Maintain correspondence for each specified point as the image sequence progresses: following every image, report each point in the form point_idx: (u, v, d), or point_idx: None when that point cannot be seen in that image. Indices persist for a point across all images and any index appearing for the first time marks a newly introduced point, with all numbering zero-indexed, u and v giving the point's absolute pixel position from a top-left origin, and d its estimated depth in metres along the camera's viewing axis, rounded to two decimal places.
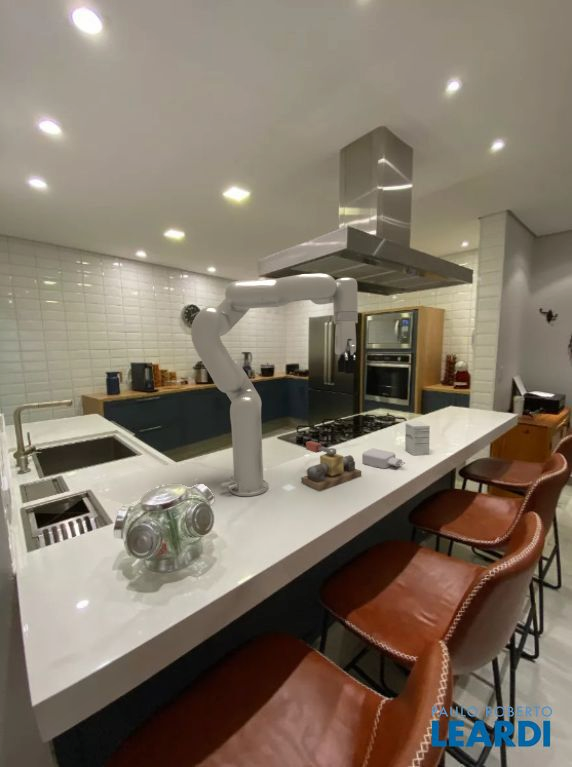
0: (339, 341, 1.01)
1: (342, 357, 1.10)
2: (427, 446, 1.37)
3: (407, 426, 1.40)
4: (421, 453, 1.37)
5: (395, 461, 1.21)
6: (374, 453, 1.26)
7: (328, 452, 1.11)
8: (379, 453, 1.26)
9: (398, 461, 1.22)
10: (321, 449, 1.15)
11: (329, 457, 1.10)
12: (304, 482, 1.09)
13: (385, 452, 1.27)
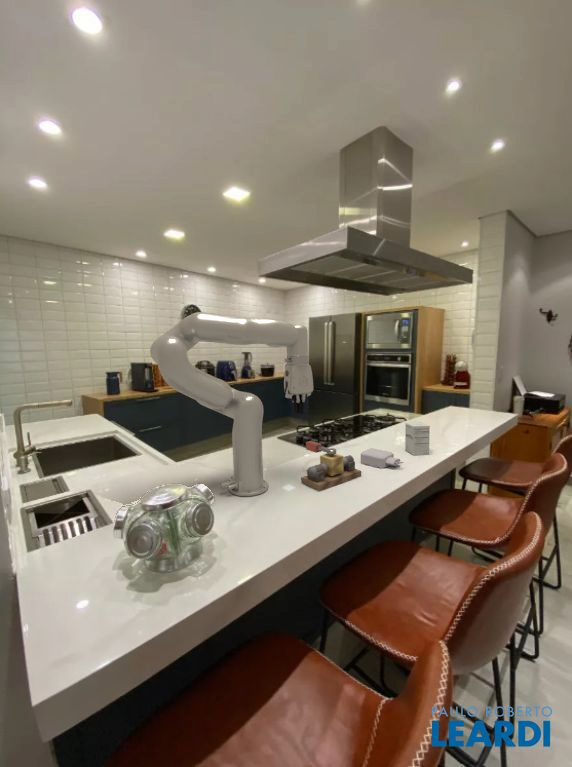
0: (309, 381, 1.14)
1: None
2: (427, 446, 1.37)
3: (407, 426, 1.40)
4: (421, 453, 1.37)
5: (393, 461, 1.22)
6: (372, 453, 1.27)
7: (328, 452, 1.11)
8: (378, 453, 1.27)
9: (396, 461, 1.22)
10: (321, 449, 1.15)
11: (329, 457, 1.10)
12: (304, 482, 1.09)
13: (383, 452, 1.28)
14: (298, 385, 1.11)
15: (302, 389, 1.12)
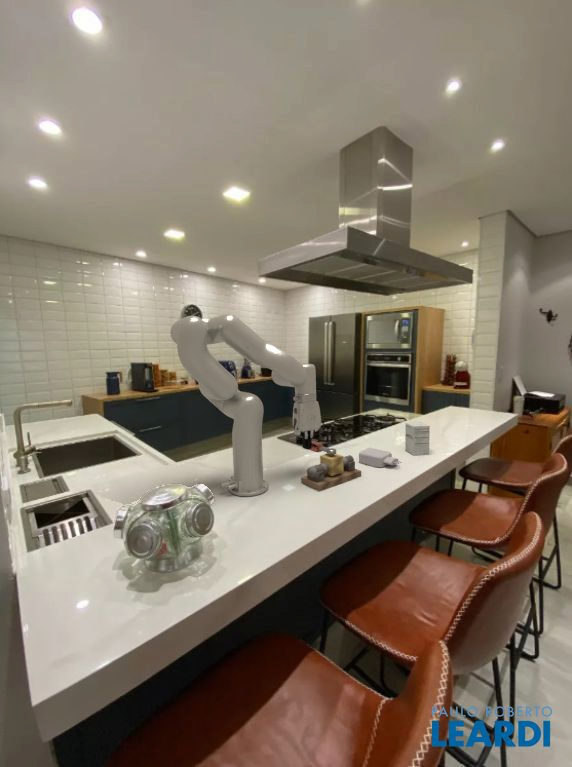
0: (317, 418, 1.17)
1: None
2: (427, 446, 1.37)
3: (407, 426, 1.40)
4: (421, 453, 1.37)
5: (391, 460, 1.22)
6: (370, 452, 1.27)
7: (328, 452, 1.11)
8: (376, 452, 1.27)
9: (394, 460, 1.23)
10: (321, 449, 1.15)
11: (329, 457, 1.10)
12: (304, 482, 1.09)
13: (381, 451, 1.28)
14: (306, 422, 1.14)
15: (310, 426, 1.15)
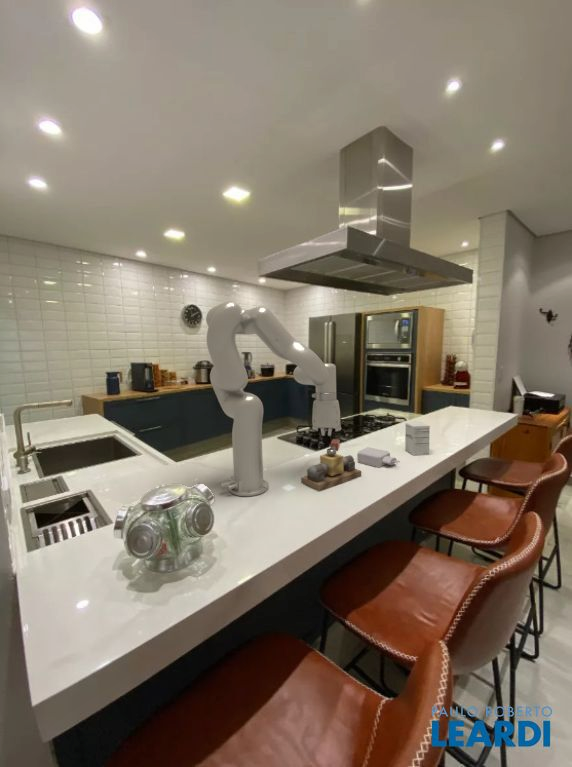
0: (333, 417, 1.18)
1: None
2: (427, 446, 1.37)
3: (407, 426, 1.40)
4: (421, 453, 1.37)
5: (389, 460, 1.23)
6: (369, 452, 1.28)
7: (327, 451, 1.12)
8: (374, 452, 1.28)
9: (392, 460, 1.24)
10: (331, 448, 1.16)
11: (329, 457, 1.10)
12: (304, 482, 1.09)
13: (380, 451, 1.29)
14: (319, 419, 1.19)
15: (324, 424, 1.19)
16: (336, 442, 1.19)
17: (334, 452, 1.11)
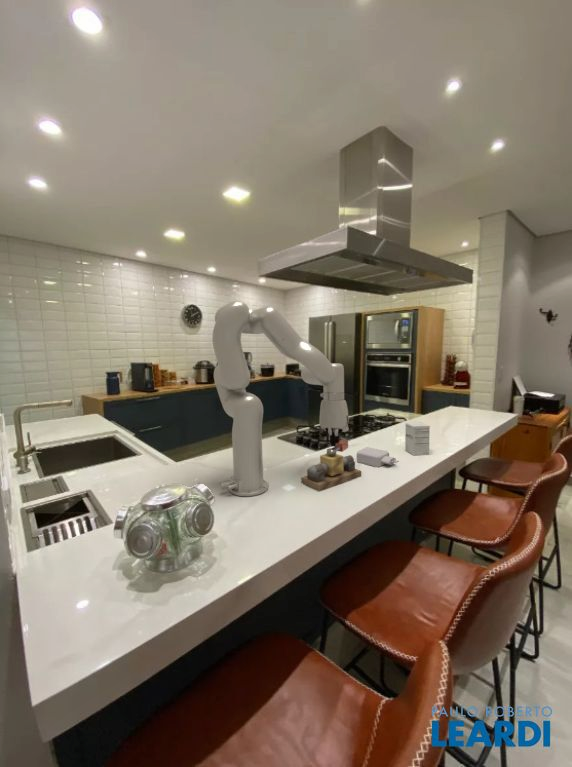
0: (339, 418, 1.17)
1: (332, 431, 1.22)
2: (427, 446, 1.37)
3: (407, 426, 1.40)
4: (421, 453, 1.37)
5: (389, 459, 1.23)
6: (368, 452, 1.28)
7: None
8: (373, 452, 1.28)
9: (392, 459, 1.24)
10: None
11: (329, 457, 1.10)
12: (304, 482, 1.09)
13: (379, 451, 1.29)
14: (326, 419, 1.20)
15: (330, 424, 1.19)
16: (342, 443, 1.18)
17: (333, 452, 1.10)
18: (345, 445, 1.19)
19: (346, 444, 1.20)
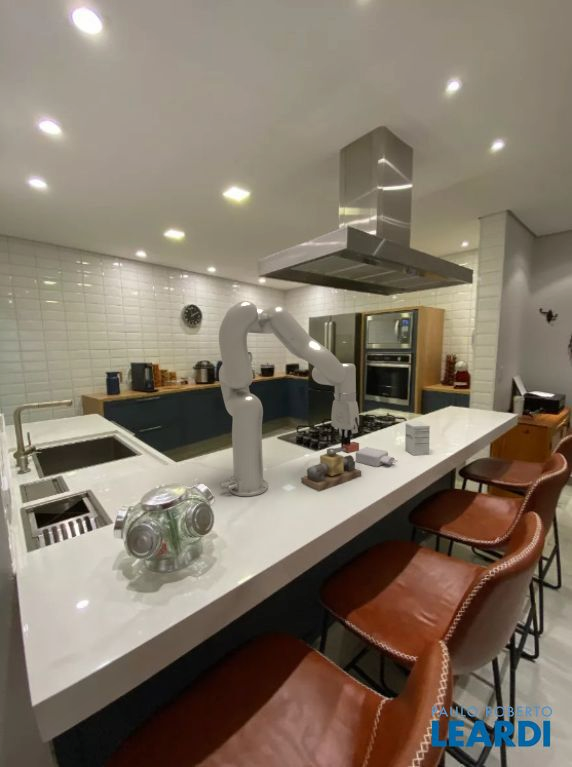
0: (346, 419, 1.15)
1: (343, 432, 1.20)
2: (427, 446, 1.37)
3: (407, 426, 1.40)
4: (421, 453, 1.37)
5: (388, 459, 1.23)
6: (367, 451, 1.29)
7: None
8: (372, 451, 1.28)
9: (390, 459, 1.24)
10: None
11: (329, 457, 1.10)
12: (304, 482, 1.09)
13: (378, 450, 1.30)
14: (336, 419, 1.19)
15: (339, 424, 1.18)
16: (349, 444, 1.16)
17: (331, 452, 1.10)
18: (353, 447, 1.16)
19: (355, 446, 1.17)
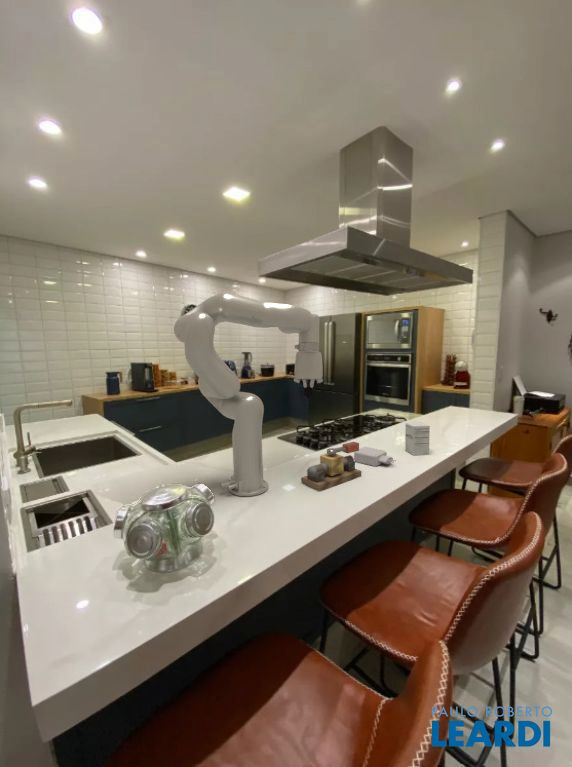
0: (317, 368, 1.17)
1: None
2: (427, 446, 1.37)
3: (407, 426, 1.40)
4: (421, 453, 1.37)
5: (386, 459, 1.24)
6: (366, 451, 1.29)
7: None
8: (371, 451, 1.29)
9: (389, 459, 1.25)
10: None
11: (329, 457, 1.10)
12: (304, 482, 1.09)
13: (376, 450, 1.30)
14: (303, 370, 1.17)
15: (307, 374, 1.17)
16: (349, 444, 1.15)
17: (331, 452, 1.10)
18: (353, 447, 1.16)
19: (355, 446, 1.17)
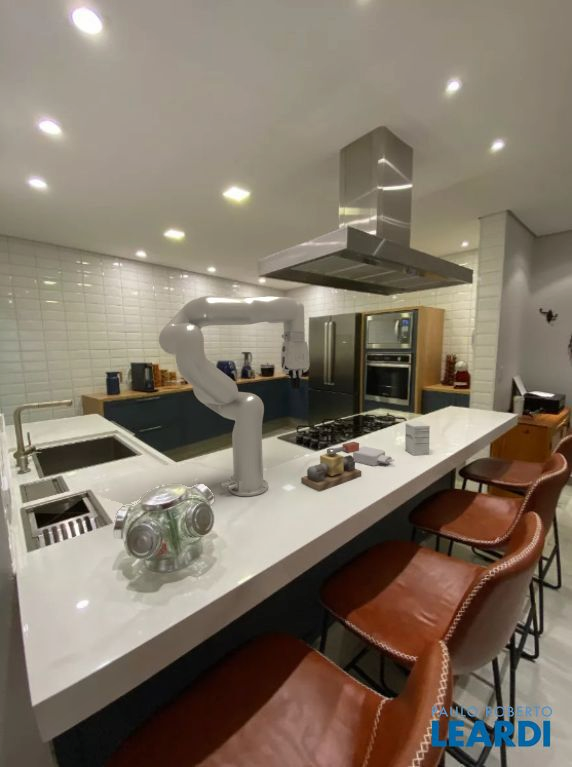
0: (306, 357, 1.18)
1: None
2: (427, 446, 1.37)
3: (407, 426, 1.40)
4: (421, 453, 1.37)
5: (385, 458, 1.24)
6: (364, 451, 1.30)
7: None
8: (370, 451, 1.29)
9: (387, 458, 1.25)
10: None
11: (329, 457, 1.10)
12: (304, 482, 1.09)
13: (375, 450, 1.30)
14: (295, 360, 1.15)
15: (298, 364, 1.16)
16: (349, 444, 1.15)
17: (331, 452, 1.10)
18: (353, 447, 1.16)
19: (355, 446, 1.17)
